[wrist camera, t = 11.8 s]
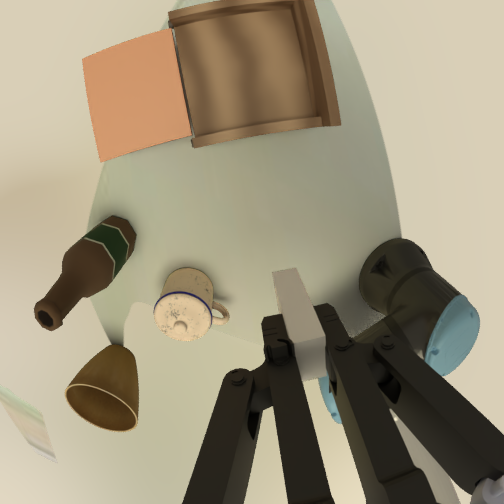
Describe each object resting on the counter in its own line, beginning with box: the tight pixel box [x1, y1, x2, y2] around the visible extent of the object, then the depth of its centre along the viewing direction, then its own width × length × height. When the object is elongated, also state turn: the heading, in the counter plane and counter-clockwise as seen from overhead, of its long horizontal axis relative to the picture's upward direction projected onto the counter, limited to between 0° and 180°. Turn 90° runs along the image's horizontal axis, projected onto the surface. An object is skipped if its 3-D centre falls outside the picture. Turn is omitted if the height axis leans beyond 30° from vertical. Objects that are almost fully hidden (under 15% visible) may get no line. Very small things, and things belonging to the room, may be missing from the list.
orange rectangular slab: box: [82, 28, 192, 162], centre depth 29 cm, size 2×15×12 cm
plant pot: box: [65, 344, 139, 432], centre depth 49 cm, size 15×15×16 cm
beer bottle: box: [34, 216, 136, 331], centre depth 34 cm, size 8×8×24 cm
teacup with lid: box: [154, 268, 230, 341], centre depth 45 cm, size 12×9×12 cm
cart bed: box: [168, 0, 341, 148], centre depth 30 cm, size 17×18×14 cm
